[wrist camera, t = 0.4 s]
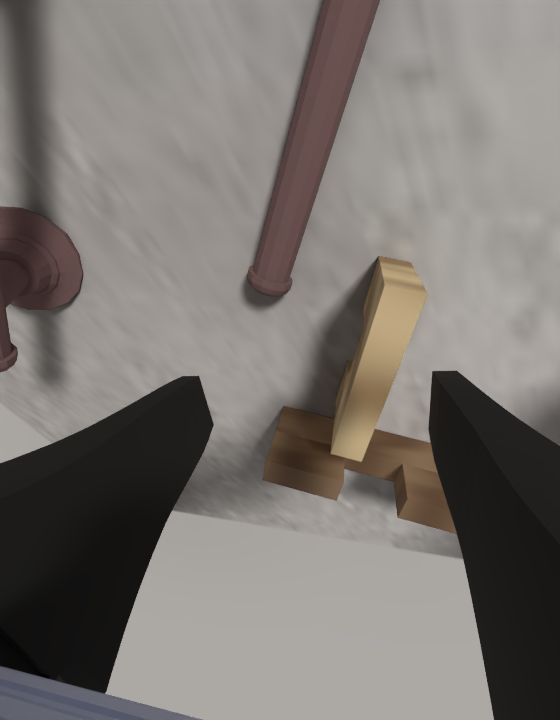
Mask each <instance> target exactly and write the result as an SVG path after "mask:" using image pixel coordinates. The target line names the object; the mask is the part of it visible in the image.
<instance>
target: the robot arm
mask: <svg viewBox="0 0 560 720" xmlns="http://www.w3.org/2000/svg"><path fill="white" fill-rule="evenodd" d="M213 425H214V424H213V421H212V418H211V415H210V411H209V408H208V405H207V401H206V398H205V395H204V391H203V388H202V385H201V381H200V378H199V376H182V377H180V378H178V379H175V380H173V381H171V382H169V383H168V384H166V385H164V386H162V387H160V388H158V389H157V390H155V391H153V392H151V393H150V394H148V395H146V396H144V397H143V398H141V399H139V400H137V401H136V402H134V403H132V404H130V405H129V406H127V407H125V408H123V409H121V410H120V411H118V412H116V413H114V414H112V415H110V416H108V417H107V418H105V419H103V420H101V421H99V422H97V423H95V424H93V425H92V426H90V427H88V428H85V429H83V430H81V431H79V432H77V433H75V434H73V435H71V436H68V437H66V438H64V439H62V440H59V441H57V442H55V443H53V444H50V445H48V446H45V447H43V448H40V449H38V450H35V451H32V452H30V453H27V454H25V455H22V456H19V457H17V458H14V459H12V460H9V461H6V462H3V463H0V720H201V719H197V718H194V717H190V716H186V715H182V714H179V713H175V712H171V711H167V710H164V709H160V708H156V707H152V706H149V705H145V704H141V703H137V702H133V701H130V700H126V699H122V698H118V697H115V696H111V695H107V694H105V692H106V691H107V687H108V684H109V680H110V677H111V673H112V670H113V666H114V663H115V660H116V657H117V653H118V651H119V647H120V644H121V641H122V638H123V634H124V631H125V628H126V625H127V622H128V619H129V616H130V614H131V611H132V608H133V605H134V602H135V599H136V596H137V594H138V591H139V588H140V585H141V583H142V580H143V577H144V575H145V572H146V570H147V567H148V565H149V562H150V559H151V557H152V554H153V552H154V549H155V547H156V545H157V542H158V540H159V538H160V535H161V533H162V530H163V528H164V526H165V523H166V521H167V519H168V517H169V515H170V513H171V511H172V509H173V507H174V506H175V504H176V502H177V500H178V498H179V496H180V495H181V493H182V491H183V489H184V487H185V486H186V484H187V482H188V480H189V478H190V476H191V475H192V473H193V471H194V469H195V467H196V465H197V463H198V462H199V460H200V458H201V456H202V454H203V452H204V450H205V447H206V445H207V442H208V440H209V437H210V434H211V431H212V428H213ZM429 434H430V440H431V446H432V452H433V457H434V462H435V465H436V469H437V472H438V475H439V478H440V482H441V485H442V488H443V491H444V494H445V498H446V501H447V504H448V507H449V510H450V513H451V517H452V520H453V523H454V526H455V529H456V532H457V536H458V539H459V543H460V547H461V551H462V554H463V559H464V564H465V568H466V573H467V578H468V582H469V588H470V593H471V598H472V603H473V608H474V613H475V618H476V623H477V628H478V633H479V638H480V644H481V649H482V655H483V660H484V666H485V671H486V677H487V682H488V687H489V693H490V699H491V704H492V710H493V716H494V720H560V446H559V445H557V444H556V443H554V442H552V441H551V440H549V439H548V438H546V437H544V436H543V435H541V434H540V433H538V432H537V431H536V430H534V429H533V428H531V427H530V426H528V425H527V424H525V423H524V422H522V421H521V420H519V419H518V418H517V417H515V416H514V415H512V414H511V413H510V412H508V411H507V410H506V409H504V408H503V407H502V406H500V405H499V404H498V403H496V402H495V401H494V400H492V399H491V398H490V397H489V396H487V395H486V394H485V393H484V392H482V391H481V390H480V389H479V388H477V387H476V386H475V385H474V384H472V383H471V382H470V381H469V380H468V379H466V378H465V377H464V376H463V375H461V374H460V373H459V372H458V371H432V386H431V401H430V416H429Z"/></svg>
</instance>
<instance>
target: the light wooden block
mask: <svg viewBox="0 0 560 720" xmlns="http://www.w3.org/2000/svg"><path fill="white" fill-rule="evenodd" d="M427 295H428V294H427V292H426V290H425V288H424V286H423V284H422V282H421V281H420V279H419V277H418V275H417V273H416V271H415V269H414V268H413V266H412V264H411V263H410V262H405V261H401V260H396V259H391V258H386V257H381V256H379V257H378V260H377V264H376V267H375V270H374V274H373V277H372V280H371V284H370V287H369V290H368V294H367V297H366V300H365V304H364V307H363V316H364V326H363V330H362V333H361V336H360V339H359V343H358V346H357V349H356V352H355V356H354V359H353V362H352V361H347V364H346V368H345V371H344V374H343V378H342V381H341V384H340V388H339V391H338V394H337V398H336V407H335V417H334V426H333V436H332V445H331V454H334V455H337V456H341V457H345V458H349V459H353V460H356V461H360V462H362V460H363V457H364V455H365V452H366V449H367V447H368V444H369V442H370V439H371V437H372V434H373V432H374V429H375V427H376V424H377V422H378V419H379V417H380V414H381V411H382V409H383V406H384V404H385V401H386V399H387V396H388V394H389V391H390V389H391V386H392V384H393V381H394V379H395V376H396V373H397V371H398V368H399V366H400V363H401V361H402V358H403V356H404V353H405V351H406V348H407V346H408V343H409V340H410V338H411V335H412V333H413V330H414V328H415V325H416V323H417V320H418V318H419V315H420V313H421V310H422V308H423V305H424V302H425V300H426V297H427Z"/></svg>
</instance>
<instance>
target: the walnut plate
mask: <svg viewBox="0 0 560 720" xmlns="http://www.w3.org/2000/svg"><path fill="white" fill-rule="evenodd" d="M333 426H334V419H333V418H329V417H325V416H321V415H317V414H313V413H309V412H305V411H301V410H297V409H293V408H289V407H285V406H284V407H283V410H282V413H281V416H280V419H279V422H278V425H277V428H276V432H275V435H274V438H273V441H272V444H271V447H270V450H269V453H268V456H267V459H266V464H265V469H264V474H263V480H264V481H268V482H271V483H275V484H278V485H282V486H286V487H289V488H293V489H296V490H300V491H304V492H307V493H311V494H315V495H318V496H322V497H325V498H329V499H333V500H336V501H337V498H338V495H339V493H340V490H341V487H342V485H343V482H344V469H348V470H352V471H356V472H359V473H363V474H367V475H371V476H374V477H378V478H382V479H386V480H389V481H393V482H394V488H395V498H396V507H397V516H398V518H401V519H405V520H408V521H412V522H415V523H419V524H423V525H426V526H430V527H433V528H437V529H441V530H444V531H448V532H451V533H455V534H457V532H456V529H455V526H454V523H453V520H452V517H451V513H450V510H449V507H448V504H447V501H446V498H445V494H444V491H443V488H442V485H441V482H440V478H439V475H438V472H437V469H436V465H435V462H434V457H433V452H432V446H431V443H428V442H424V441H420V440H416V439H412V438H408V437H404V436H400V435H396V434H392V433H388V432H384V431H380V430H376V429H374V432H373V434H372V437H371V439H370V442H369V444H368V447H367V449H366V452H365V455H364V457H363V460H362V462H360V461H356V460H353V459H349V458H345V457H341V456H337V455H334V454H331V445H332V436H333Z"/></svg>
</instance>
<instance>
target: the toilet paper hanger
mask: <svg viewBox="0 0 560 720" xmlns="http://www.w3.org/2000/svg"><path fill="white" fill-rule="evenodd" d="M379 2H380V0H324V2H323V6H322V10H321V13H320V17H319V21H318V25H317V29H316V32H315V36H314V40H313V44H312V48H311V51H310V55H309V59H308V63H307V67H306V71H305V74H304V78H303V82H302V86H301V90H300V93H299V97H298V101H297V105H296V109H295V112H294V116H293V120H292V124H291V128H290V131H289V135H288V139H287V143H286V147H285V150H284V154H283V158H282V162H281V166H280V169H279V173H278V177H277V181H276V185H275V188H274V192H273V196H272V200H271V204H270V208H269V211H268V215H267V219H266V223H265V227H264V230H263V234H262V238H261V242H260V246H259V249H258V253H257V257H256V261H255V265H254V266H250V268H249V270H248V274H247V279H248V282H249V284H250V285H251V286H252V287H253V288H254V289H255V290H256V291H258V292H260V293H261V294H264V295H268V296H281V295H284V294H286V293H287V292H288V291H289V290H290V288H291V285H292V279H291V278H290V274H291V271H292V268H293V265H294V262H295V259H296V256H297V253H298V250H299V247H300V244H301V241H302V238H303V235H304V232H305V228H306V225H307V222H308V219H309V216H310V213H311V210H312V207H313V204H314V201H315V198H316V195H317V192H318V189H319V186H320V182H321V179H322V176H323V173H324V170H325V167H326V164H327V161H328V158H329V155H330V152H331V149H332V146H333V143H334V140H335V136H336V133H337V130H338V127H339V124H340V121H341V118H342V115H343V112H344V109H345V106H346V103H347V100H348V97H349V94H350V90H351V87H352V84H353V81H354V78H355V75H356V72H357V69H358V66H359V63H360V60H361V57H362V54H363V51H364V48H365V45H366V41H367V38H368V35H369V32H370V29H371V26H372V23H373V20H374V17H375V14H376V11H377V8H378V5H379ZM82 277H83V270H82V265H81V261H80V256H79V253H78V251H77V249H76V248H75V246H74V244H73V242H72V241H71V239H70V237H69V236H68V234H67V233H65V232H64V231H63V230H62V229H60V228H59V227H58V226H56V225H55V224H54V223H53V222H51V221H50V220H49V219H48V218H46V217H44V216H41V215H38V214H36V213H33V212H31V211H28V210H26V209H23V208H16V207H0V372H3V371H6V370H8V369H9V368H10V367H12V366H13V365H14V364H15V362H16V360H17V355H18V351H17V347H15V346H14V345H13V344H12V343H11V341H10V334H9V328H8V321H7V314H6V307H7V306H8V305H9V304H12V305H15V306H19V307H22V308H26V309H53V308H55V307H58V306H61V305H63V304H66V303H68V302H69V301H70V300H71V299H72V298H73V296H74V295H75V294H76V293H77V292H78V291H79V290H80V286H81V281H82Z"/></svg>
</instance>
